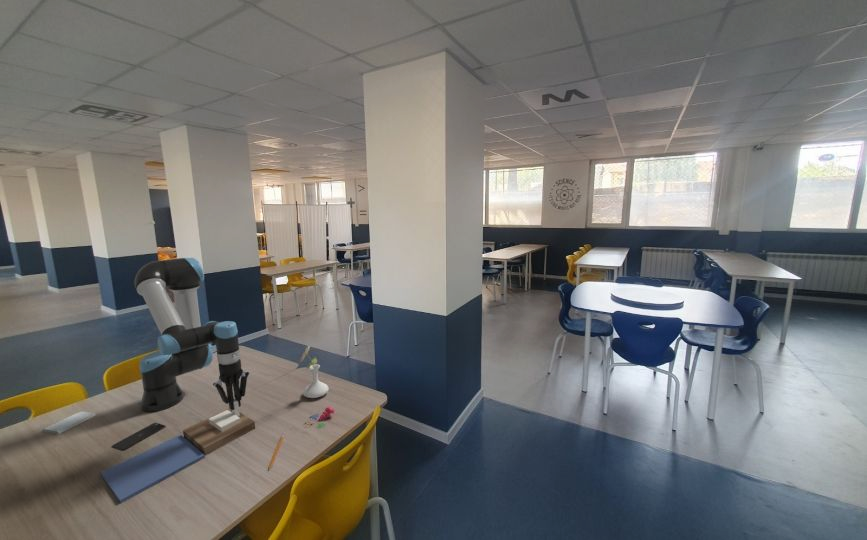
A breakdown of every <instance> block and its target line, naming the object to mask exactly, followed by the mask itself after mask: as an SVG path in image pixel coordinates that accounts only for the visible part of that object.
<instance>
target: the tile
mask: <svg viewBox="0 0 867 540" xmlns="http://www.w3.org/2000/svg"><path fill="white" fill-rule="evenodd" d="M225 410H226V411H225ZM225 410H223V411H224V412H223V411H221V412H222V413H221V412H219V413H220V414H219V413H217V414H218V415H217V414H215V415H216V416H214V415H213V417H212V416H210V417H211V418H210V417H208V418H209V423H210V424H211V425H212V426H214V427H215V428H217V429H218V430H220V431H221V432H223V431H225V430H227V429H229V428H231V427H233V426H235V425H237V424H239V423H241V420H240V417H238V416H236V415H235V414H233V413H232V412H230V411H228V410H227V409H225Z"/></svg>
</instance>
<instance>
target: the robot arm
mask: <svg viewBox="0 0 867 540" xmlns="http://www.w3.org/2000/svg"><path fill="white" fill-rule="evenodd" d="M204 280H205V273H204V269H203V267H202V265H201V264H200V261H199V260H198V259H196V258H195V257H179V258H170V259H163V260H162V259H161V260H153V261H150V262H148V263H146V264H144V265H143V266H142V267H141V268H140V269H139V270H138V271H137V273H136V275H135V278H134V288H135V290H136V293H137V294H138V295H140V296H142V298H143V300H144V302H145V303H146V306H147V308H148V310H149V312H150V314H151V316H152V318H153V321H154V322H155V324H156V326H157V328H158V331H159V332H160V336H158V337H157V347H158V349H159V350H155V351H153V352H151V353H148V354H146V355H145V356H143V357H142V358H141V359H140V360H139V373H140V375H141V382H142V388H143V393H142V396H141V401H140V408H141V409H140V410H141V411H143V412H146V413H147V412H148V413H149V412H151V413H152V412H159V411H163V410H166V409H169V408H171V407H173V406H175V405H177V404H179V403H180V402H182V401H183V399H184V397H185V396H184V391H183V390H182V388H181V386H180V385H179V384H178V382H177V377H179V376H181V375H185V374H188V373H191V372H194V371H197V370H202V369H204V368H206V367H208V366H210V365H211V364H212V361H213V360H214V359H213V358H214V349H213V347H212V344H215V347H216V348H215V349H216V355H217V356H216V357H217V363H218V373H219V376H218V380H217V381H216V382H213V383H212V386H213V387H215V388H216V390H217V392H218V394H219V396H220V398H221V400H222V402H223V403H224V404H226V405H228V409H230V410H232V413H233V414H235V415H236V416H240V413H241V412H240V407H241V406H242V405H241V404H242V403H241V401H242V399H243V397H245V395H246V390H247V389H246V388H247V381H248V377H249V375H250V372H249V371H247V370H243V368H242V359H241V354H240V345H239V334H238V333H239V331H238V327H237V323H236V322H235V321H234V320H233V321H232V320H231V321H230V320H227V321H226V320H225V321H221V322H220V321H215V320H210V321H208V322H205V324H203V325H202V324H201V323H202V322H201V318H200V317H201V316H200V309H199V308H200V306H199V299H198V289H199V288H200V287H201V283H202V282H203V281H204ZM166 287H168V290H169V291H170V292H172V293H173V298H174V303H173V301H172V300H171V297H170V296H169V294H168V292H167V290H166ZM174 304H175V305H174ZM222 383H223V384H224V385H225V389H226V392H225V389H224V387H223V384H222ZM239 412H240V413H239Z"/></svg>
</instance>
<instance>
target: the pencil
mask: <svg viewBox="0 0 867 540" xmlns="http://www.w3.org/2000/svg"><path fill="white" fill-rule="evenodd" d="M284 438H285V433H282V434H281V435H280V439H279V440H278V443H277V446H276V448H275V451H274V454H273V455H272V458H271V460H270V463H269V465H268V470H267V471H268V472H270V470H271V469H272V467H273V464H274V462H275V460H276V457H277V455H278V452H279V450H280V448H281V444H282V442H283V441H284Z"/></svg>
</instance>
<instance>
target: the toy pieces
mask: <svg viewBox="0 0 867 540" xmlns="http://www.w3.org/2000/svg"><path fill="white" fill-rule="evenodd" d="M335 412H336V410H335V409H334V408H332V407H331V406H327V407H325V409H324V411H323V412H322V413H321V415H320V414H318V415H317V414H313V415H314V416H313V415H311V416H312V417H311V416H310V417H311V418H312V419H317V418H318V417H319V415H320V418H319V419H318V420H316V422H317V421H318V422H320V420H321V421H322V420H326V419H327V418H330V417H331V416H332V415H331V414H334V413H335ZM305 423H306V422H305ZM320 423H321V424H319V423H317V424H318V428H322V427H324V426H325V425H326V424H327V423H326V424H324V423H325V422H320ZM303 424H304V423H303ZM306 424H307V423H306ZM306 424H304V425H306ZM307 425H310V424H307ZM307 425H306V426H307ZM306 426H304V427H306ZM310 427H312V425H310Z"/></svg>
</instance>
